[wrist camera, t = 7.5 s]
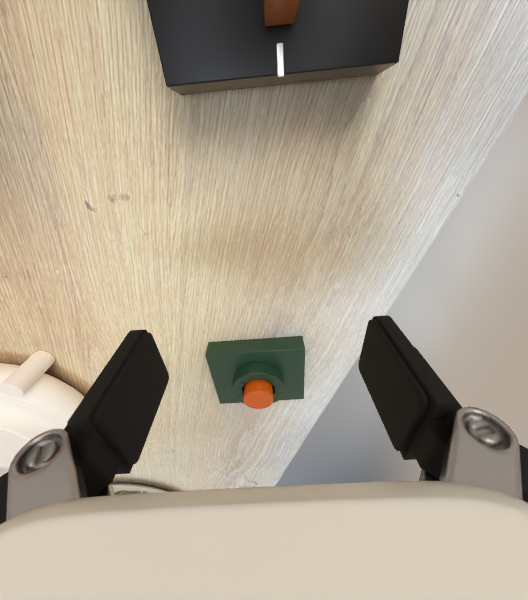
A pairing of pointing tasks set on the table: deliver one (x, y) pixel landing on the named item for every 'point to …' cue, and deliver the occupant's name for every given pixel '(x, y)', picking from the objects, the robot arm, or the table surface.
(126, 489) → the plated food
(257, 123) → the table surface
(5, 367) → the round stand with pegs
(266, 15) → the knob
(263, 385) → the button
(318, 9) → the panel
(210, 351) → the button box
